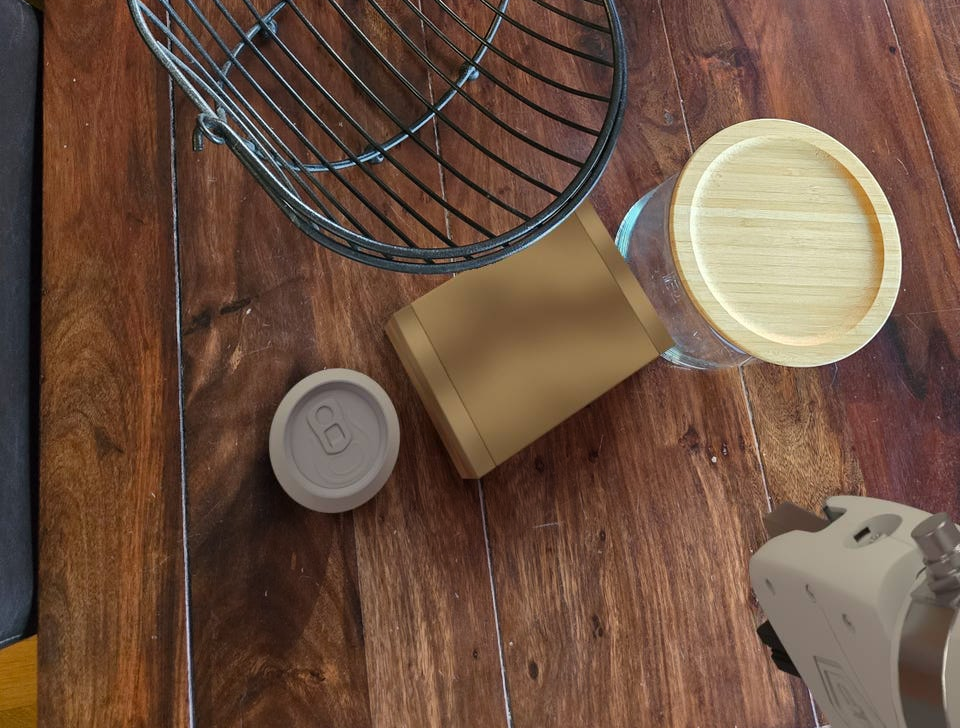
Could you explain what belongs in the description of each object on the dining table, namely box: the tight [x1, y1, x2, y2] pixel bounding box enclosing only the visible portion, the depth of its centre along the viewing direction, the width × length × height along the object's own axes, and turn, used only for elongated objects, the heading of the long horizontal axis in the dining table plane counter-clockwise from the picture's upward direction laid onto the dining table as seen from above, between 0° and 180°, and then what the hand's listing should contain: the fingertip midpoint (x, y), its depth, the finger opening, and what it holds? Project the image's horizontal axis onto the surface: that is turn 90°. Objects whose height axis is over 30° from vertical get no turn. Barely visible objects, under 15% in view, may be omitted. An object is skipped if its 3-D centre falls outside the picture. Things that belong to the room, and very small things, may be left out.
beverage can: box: [268, 367, 401, 514], centre depth 65 cm, size 7×7×12 cm
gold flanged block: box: [383, 197, 676, 480], centre depth 71 cm, size 10×14×7 cm
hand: (792, 626), depth 49 cm, fingers closed
